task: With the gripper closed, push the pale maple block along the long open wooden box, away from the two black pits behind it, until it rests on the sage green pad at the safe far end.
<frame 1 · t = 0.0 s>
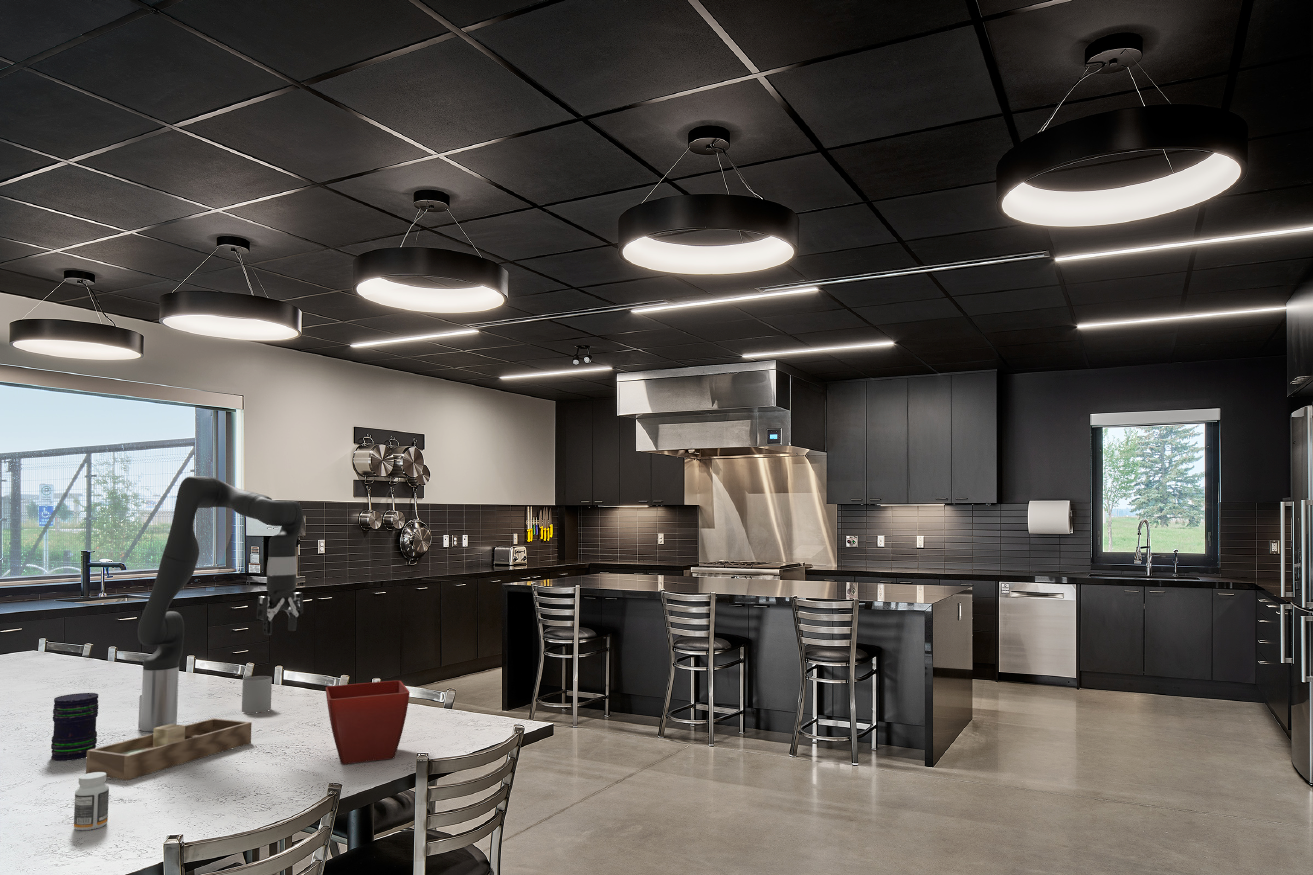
hand: (279, 632, 242), 29 cm above the table, tool pointing down, fingers open, 8 cm apart
cup: (256, 711, 279), on the table
storage jar: (73, 756, 227), on the table
pill bottle: (90, 827, 175), on the table
long open wooden box: (173, 757, 225), on the table
maple block: (168, 746, 224), point 3 cm above the table, touching long open wooden box
plant pot: (365, 756, 225), on the table
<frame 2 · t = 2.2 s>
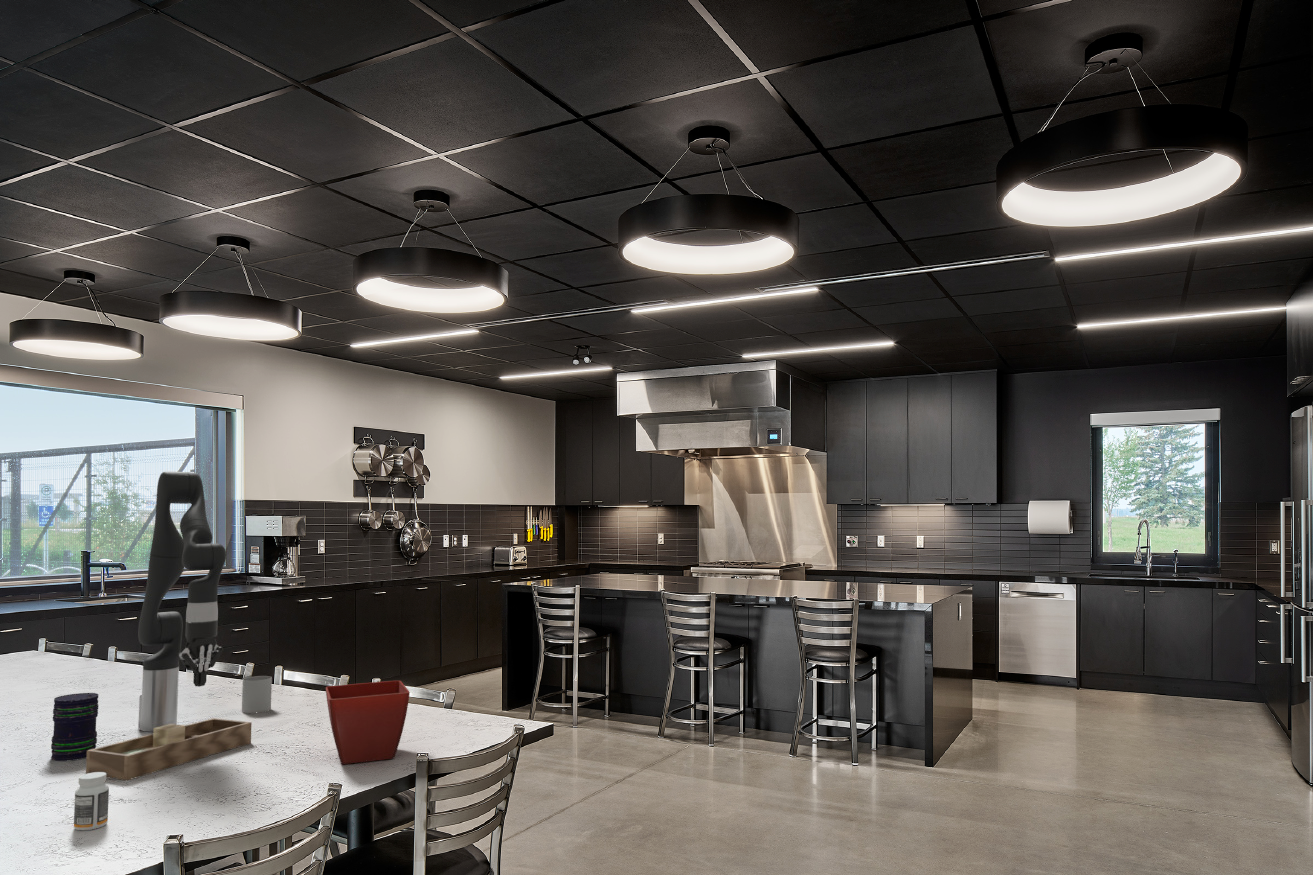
hand: (199, 685, 233), 17 cm above the table, tool pointing down, fingers closed
nothing on the table moved.
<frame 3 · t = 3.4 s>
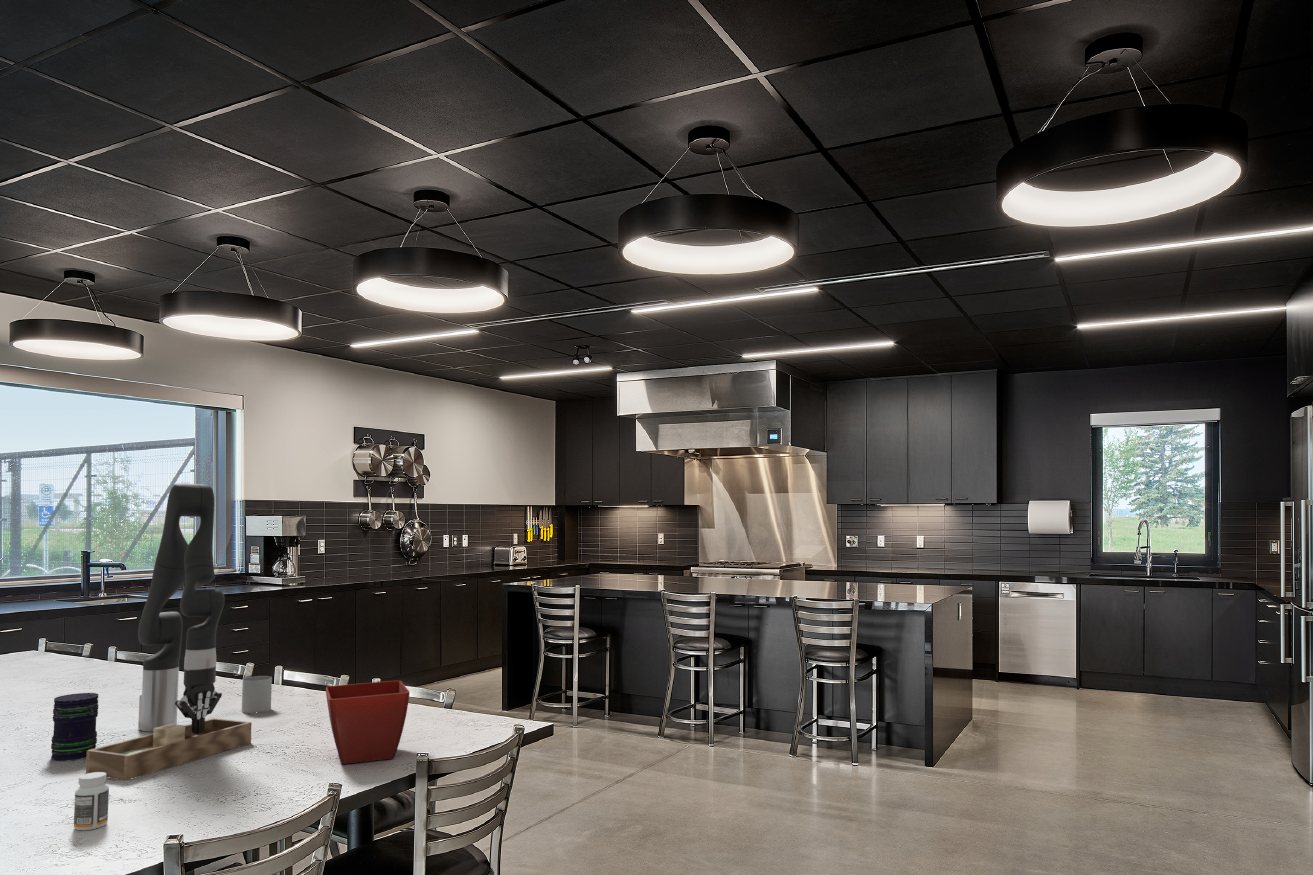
hand: (197, 732, 232), 5 cm above the table, tool pointing down, fingers closed
nothing on the table moved.
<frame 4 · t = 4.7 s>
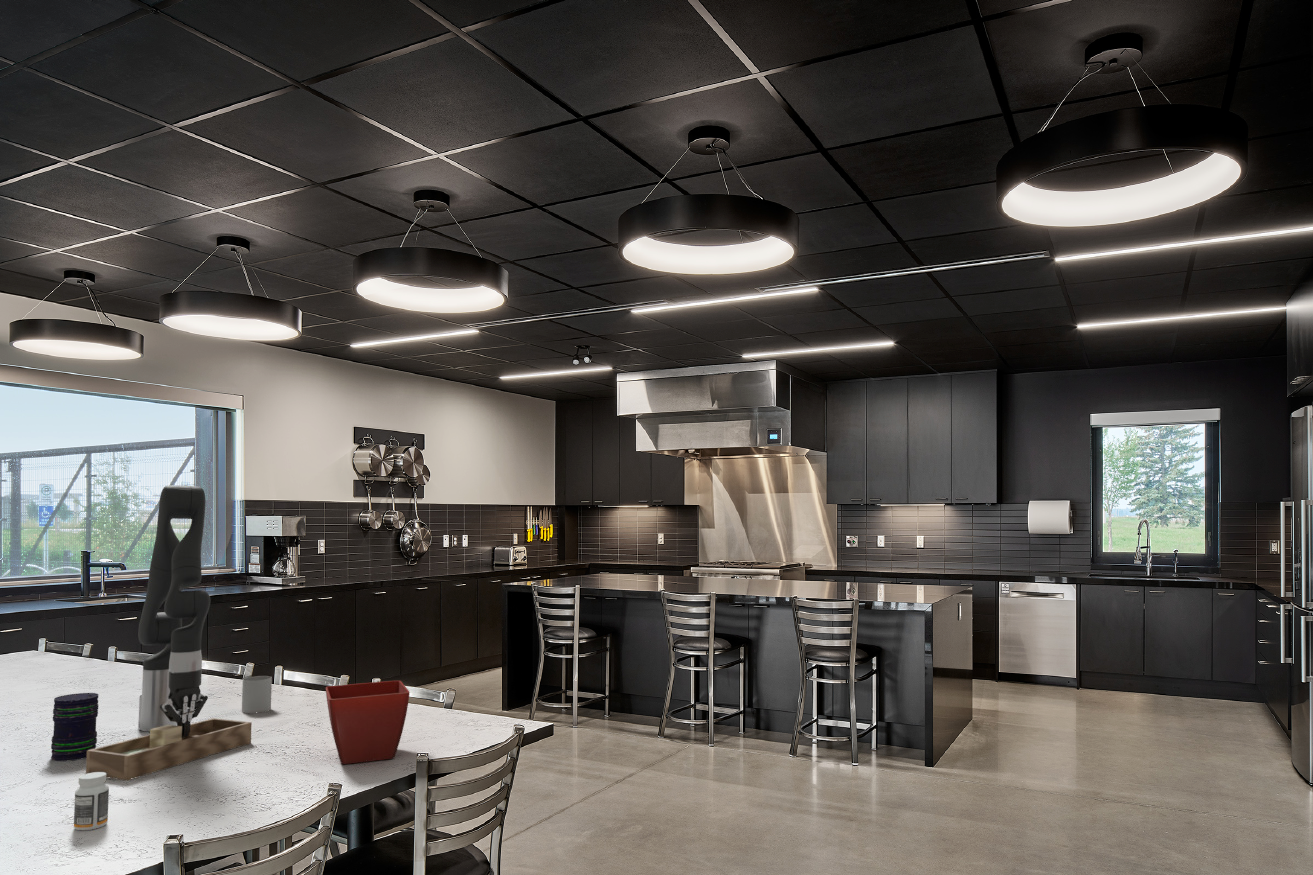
hand: (183, 736, 227), 5 cm above the table, tool pointing down, fingers closed
maple block: (165, 747, 223), point 3 cm above the table, touching gripper, long open wooden box
everything else where it was.
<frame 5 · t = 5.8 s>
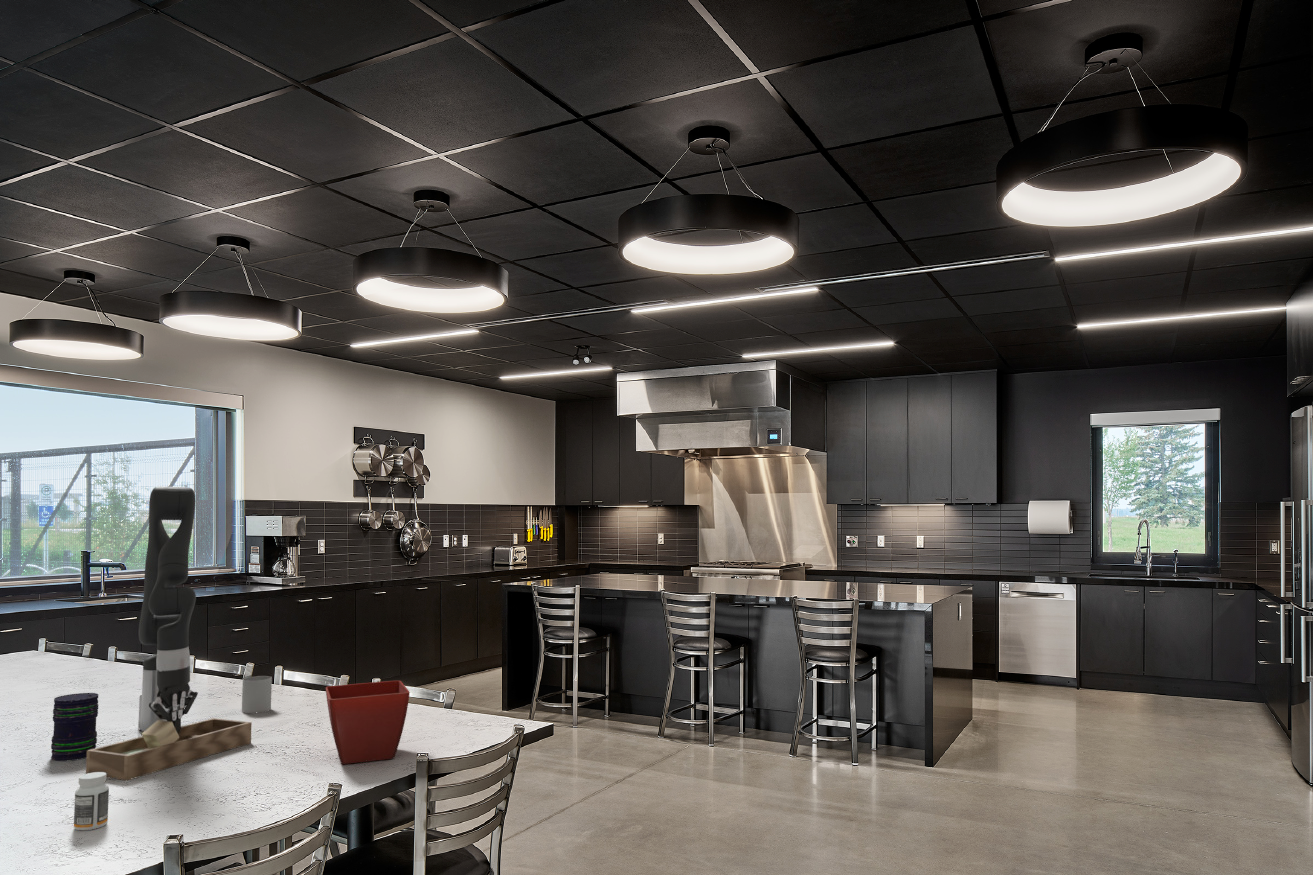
hand: (174, 733, 225), 6 cm above the table, tool pointing down, fingers closed
maple block: (164, 743, 223), point 4 cm above the table, tilted 29°, touching gripper, long open wooden box
everything else where it was.
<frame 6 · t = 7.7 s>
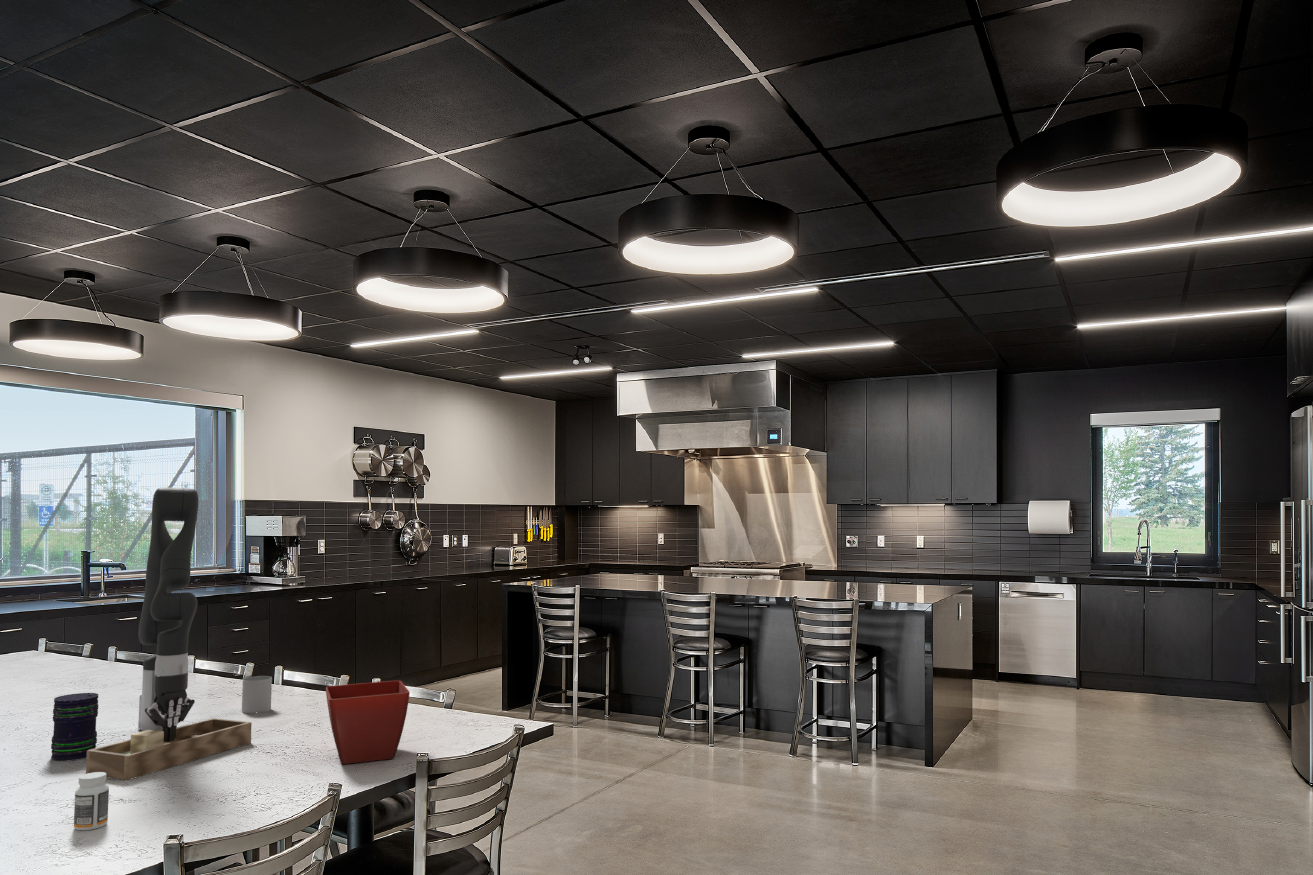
hand: (168, 741, 224), 4 cm above the table, tool pointing down, fingers closed
maple block: (146, 753, 218), point 3 cm above the table, touching long open wooden box
everything else where it was.
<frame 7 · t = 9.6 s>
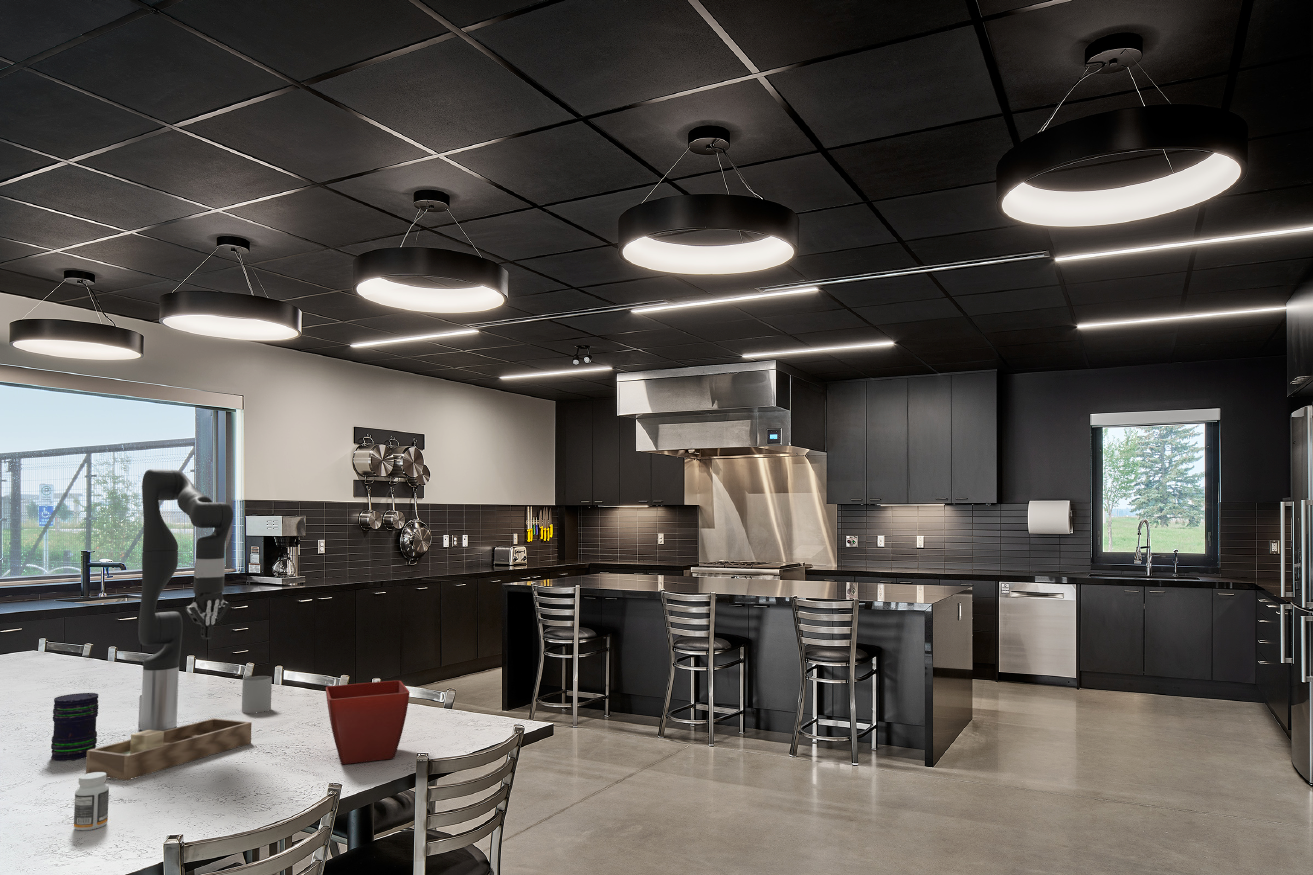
hand: (206, 638, 242), 28 cm above the table, tool pointing down, fingers closed
nothing on the table moved.
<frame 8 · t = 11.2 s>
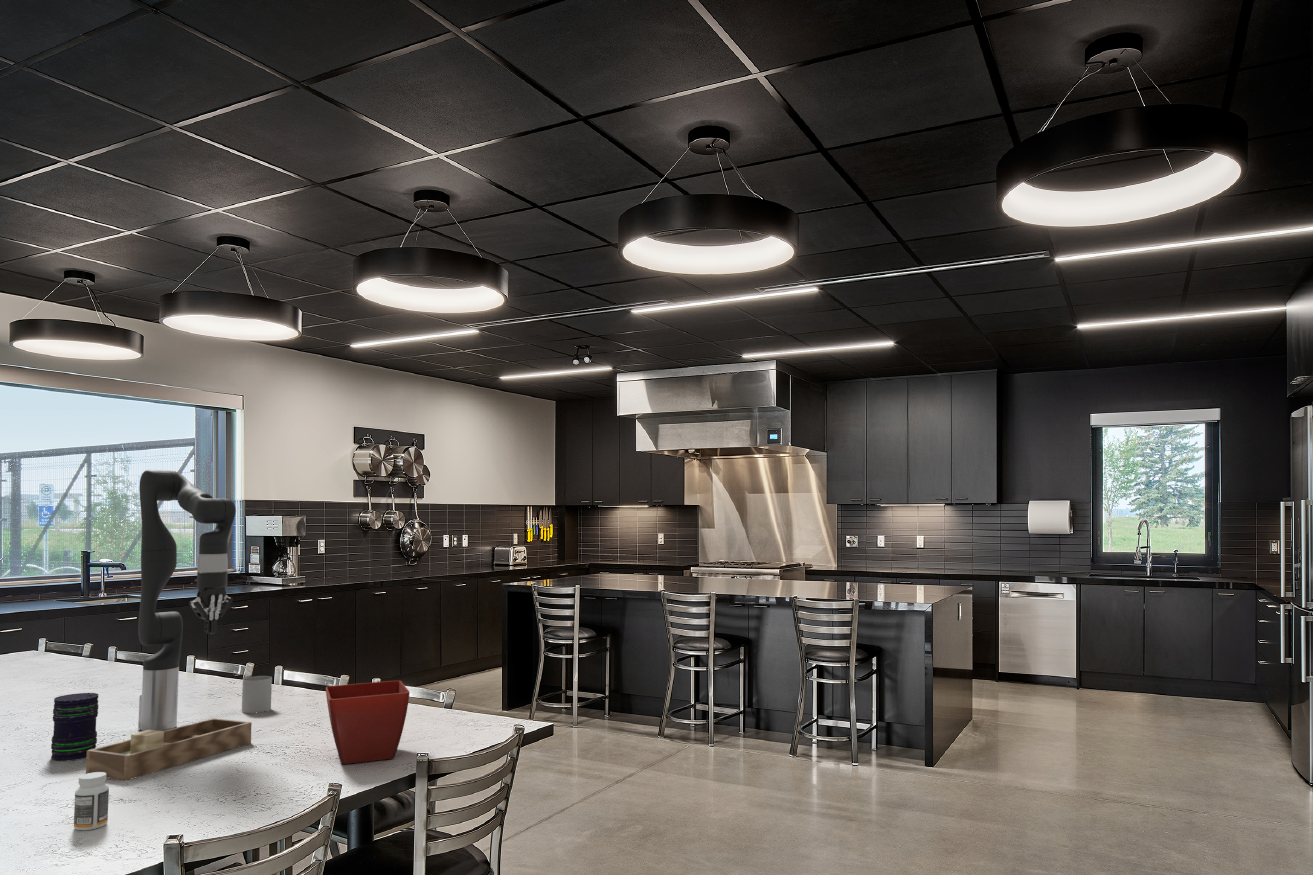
hand: (210, 633, 243), 29 cm above the table, tool pointing down, fingers closed
nothing on the table moved.
at the end: maple block inside the target area (3.1 cm from its centre), point 3.0 cm above the table; maple block tilted 0°; maple block moved 6.4 cm from its start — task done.
